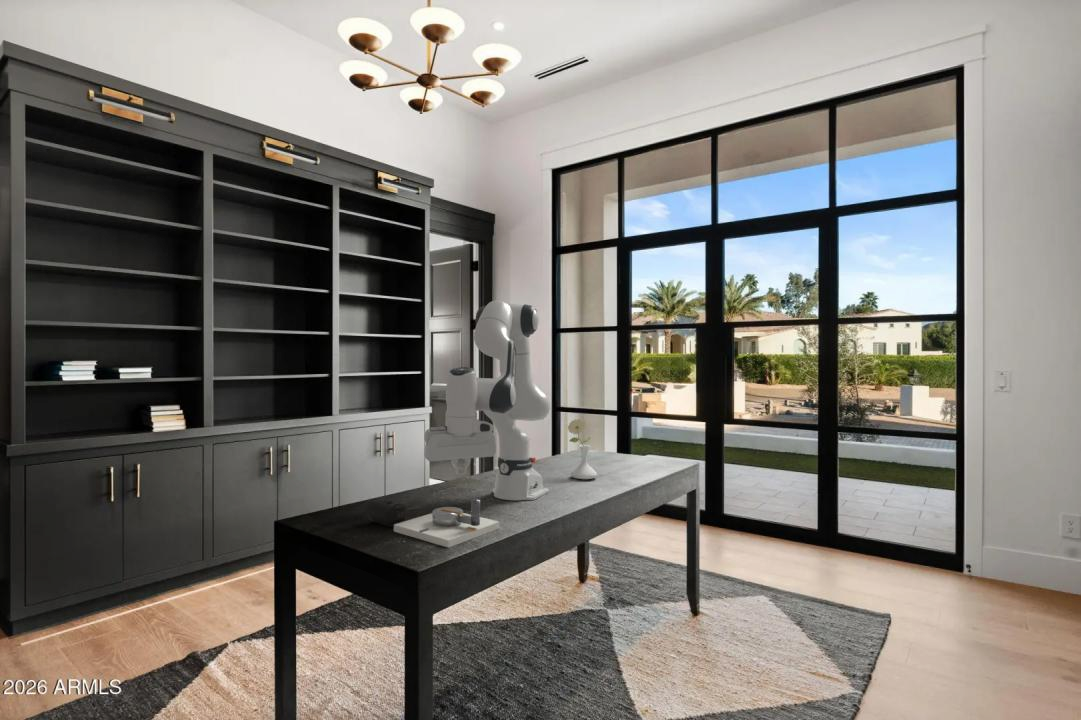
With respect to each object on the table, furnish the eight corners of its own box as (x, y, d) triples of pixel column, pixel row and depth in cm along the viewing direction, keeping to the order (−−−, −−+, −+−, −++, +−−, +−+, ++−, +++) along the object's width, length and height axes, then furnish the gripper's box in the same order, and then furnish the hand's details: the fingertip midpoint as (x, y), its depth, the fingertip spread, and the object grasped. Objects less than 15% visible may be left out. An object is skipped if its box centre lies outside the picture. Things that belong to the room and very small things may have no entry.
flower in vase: (597, 476, 255) (599, 418, 254) (596, 482, 244) (598, 421, 243) (567, 474, 257) (569, 416, 256) (564, 480, 246) (566, 420, 245)
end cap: (365, 524, 181) (366, 502, 181) (385, 518, 187) (385, 497, 186) (386, 531, 175) (387, 508, 175) (405, 525, 181) (406, 503, 180)
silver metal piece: (425, 522, 175) (426, 495, 175) (444, 515, 183) (445, 489, 183) (469, 531, 168) (470, 504, 167) (487, 523, 176) (488, 497, 175)
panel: (446, 514, 192) (446, 507, 192) (499, 528, 180) (499, 520, 180) (393, 531, 174) (393, 523, 174) (448, 547, 162) (448, 538, 162)
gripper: (427, 429, 159) (427, 480, 160) (498, 425, 168) (498, 473, 169) (421, 425, 165) (421, 474, 166) (490, 422, 174) (490, 468, 175)
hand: (460, 474), depth 167 cm, fingers closed
